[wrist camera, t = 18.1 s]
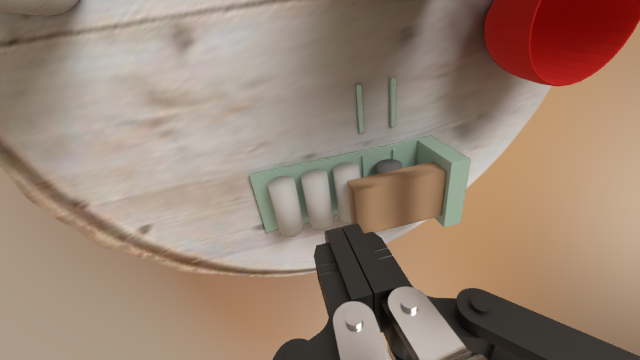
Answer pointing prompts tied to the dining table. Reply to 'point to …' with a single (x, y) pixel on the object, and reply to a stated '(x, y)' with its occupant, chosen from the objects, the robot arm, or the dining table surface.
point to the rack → (392, 105)
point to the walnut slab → (397, 197)
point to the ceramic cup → (558, 36)
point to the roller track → (368, 169)
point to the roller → (388, 165)
